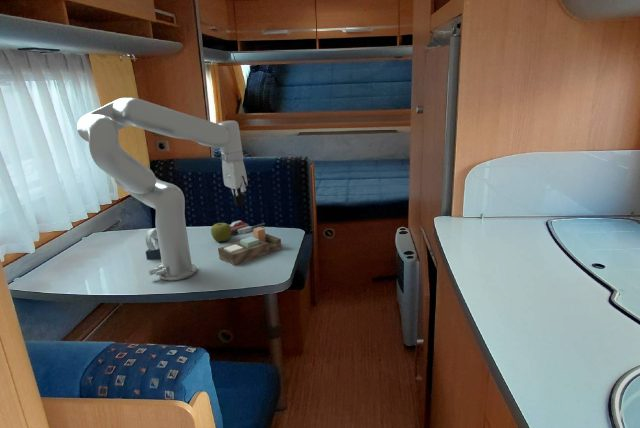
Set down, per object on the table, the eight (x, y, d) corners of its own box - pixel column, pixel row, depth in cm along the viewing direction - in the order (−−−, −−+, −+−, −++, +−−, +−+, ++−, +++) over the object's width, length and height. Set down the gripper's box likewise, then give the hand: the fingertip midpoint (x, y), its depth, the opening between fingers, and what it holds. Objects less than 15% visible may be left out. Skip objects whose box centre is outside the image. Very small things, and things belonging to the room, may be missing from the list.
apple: (213, 238, 194) (211, 222, 192) (233, 237, 194) (231, 220, 192) (211, 245, 186) (209, 228, 184) (231, 243, 187) (229, 226, 185)
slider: (258, 243, 179) (257, 231, 178) (254, 241, 181) (253, 229, 180) (265, 241, 181) (264, 228, 180) (261, 239, 183) (260, 227, 182)
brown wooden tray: (233, 265, 165) (232, 255, 164) (219, 258, 172) (218, 248, 171) (281, 248, 178) (280, 239, 177) (266, 242, 185) (265, 233, 184)
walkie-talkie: (228, 239, 192) (266, 227, 205) (227, 229, 191) (265, 217, 204) (216, 235, 198) (254, 223, 212) (215, 225, 197) (253, 214, 210)
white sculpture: (168, 253, 181) (163, 225, 177) (158, 261, 173) (154, 233, 170) (154, 253, 181) (149, 226, 178) (144, 261, 174) (139, 233, 170)
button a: (232, 259, 167) (231, 251, 166) (224, 255, 171) (223, 248, 170) (244, 255, 170) (243, 247, 169) (236, 251, 174) (235, 244, 173)
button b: (248, 250, 171) (247, 243, 170) (240, 247, 175) (240, 240, 174) (259, 247, 174) (258, 239, 173) (252, 243, 178) (251, 236, 177)
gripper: (213, 156, 171) (221, 204, 177) (233, 160, 159) (241, 211, 165) (231, 152, 175) (238, 199, 181) (252, 156, 164) (259, 206, 170)
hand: (239, 204), depth 173 cm, fingers closed
